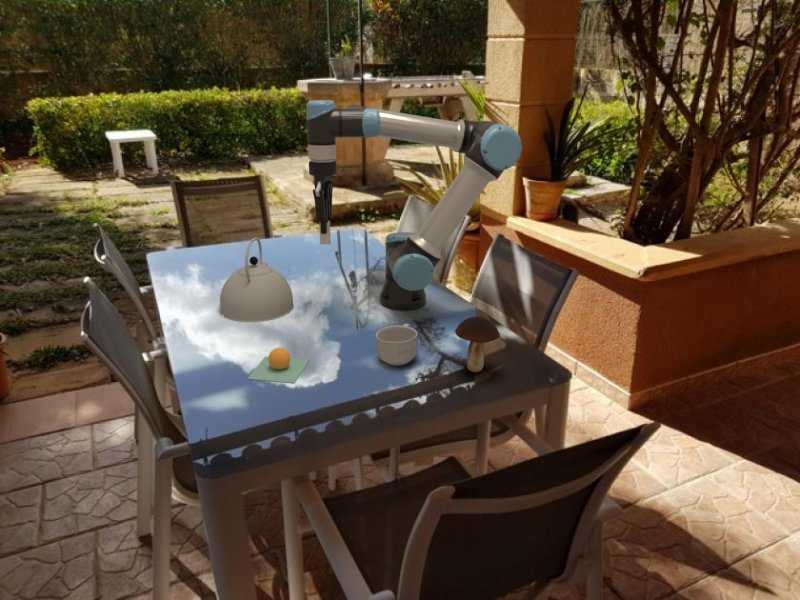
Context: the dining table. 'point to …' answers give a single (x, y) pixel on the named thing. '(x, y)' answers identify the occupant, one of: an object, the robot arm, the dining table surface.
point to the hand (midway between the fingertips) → (325, 243)
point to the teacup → (397, 344)
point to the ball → (279, 358)
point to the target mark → (278, 371)
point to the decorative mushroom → (476, 339)
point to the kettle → (255, 292)
